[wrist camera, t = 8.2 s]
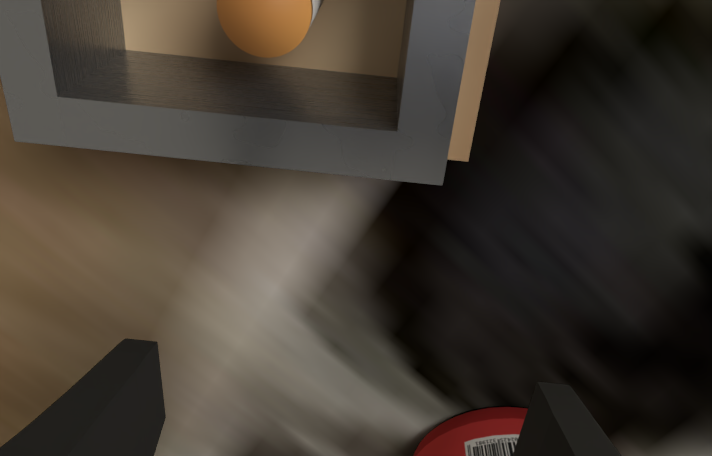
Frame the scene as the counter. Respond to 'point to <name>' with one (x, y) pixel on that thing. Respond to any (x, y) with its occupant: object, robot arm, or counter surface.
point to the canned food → (475, 434)
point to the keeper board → (307, 40)
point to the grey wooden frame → (232, 96)
